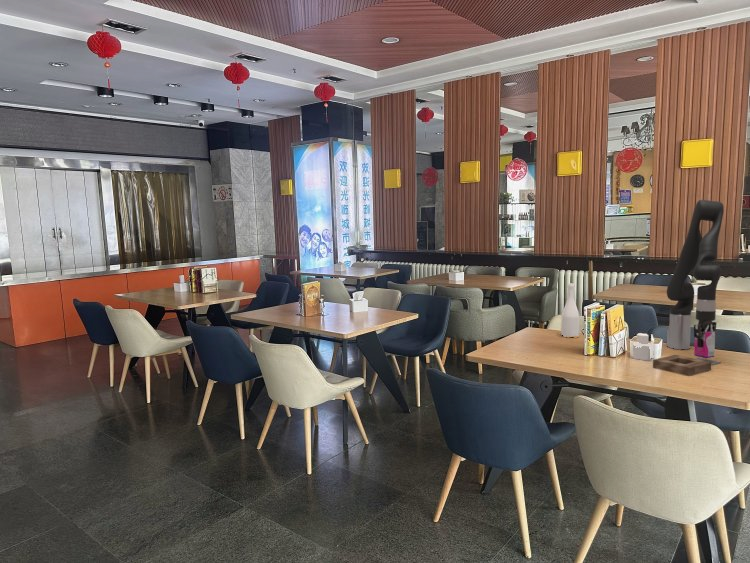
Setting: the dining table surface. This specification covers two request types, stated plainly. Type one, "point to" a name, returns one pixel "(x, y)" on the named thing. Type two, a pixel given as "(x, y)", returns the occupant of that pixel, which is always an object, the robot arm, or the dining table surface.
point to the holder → (682, 365)
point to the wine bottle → (570, 315)
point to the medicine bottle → (644, 351)
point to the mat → (709, 361)
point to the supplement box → (706, 346)
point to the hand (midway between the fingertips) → (704, 346)
